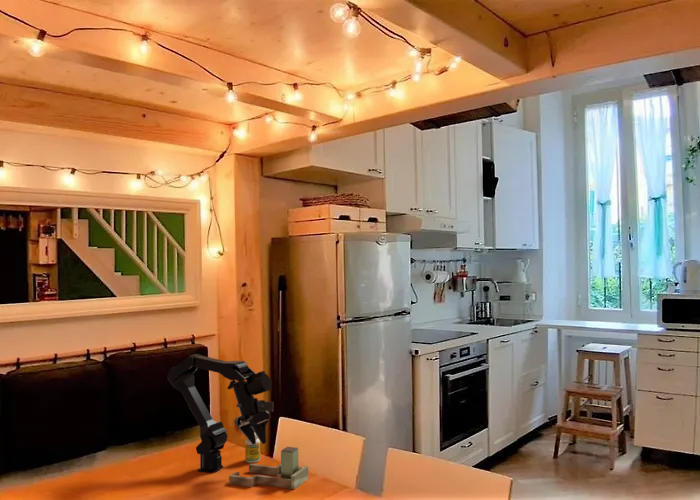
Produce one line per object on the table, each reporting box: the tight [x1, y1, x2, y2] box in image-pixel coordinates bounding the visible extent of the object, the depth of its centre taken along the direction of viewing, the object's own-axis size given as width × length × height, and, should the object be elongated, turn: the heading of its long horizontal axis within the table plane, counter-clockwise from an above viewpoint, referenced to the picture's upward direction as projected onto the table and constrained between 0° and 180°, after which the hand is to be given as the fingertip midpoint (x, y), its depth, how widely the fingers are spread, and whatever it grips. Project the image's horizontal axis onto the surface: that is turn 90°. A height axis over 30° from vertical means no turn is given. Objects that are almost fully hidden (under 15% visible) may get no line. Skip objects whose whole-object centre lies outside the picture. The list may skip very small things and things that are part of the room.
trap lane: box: [228, 463, 309, 490], centre depth 191 cm, size 22×16×4 cm
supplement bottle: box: [244, 432, 261, 464], centre depth 210 cm, size 5×5×10 cm
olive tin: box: [280, 446, 300, 479], centre depth 188 cm, size 4×4×10 cm
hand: (259, 443), depth 194 cm, fingers open, 9 cm apart
